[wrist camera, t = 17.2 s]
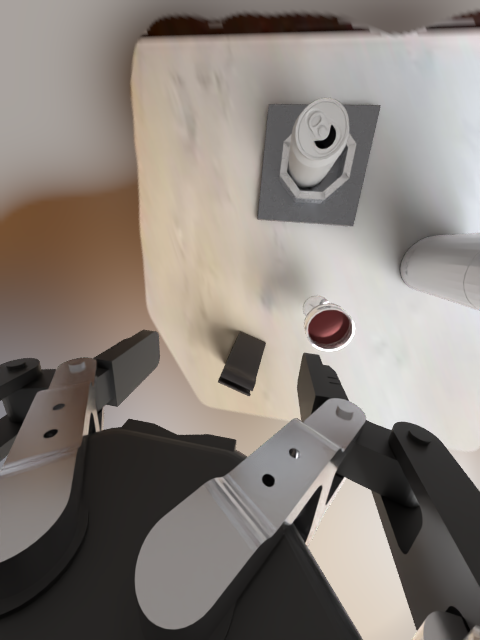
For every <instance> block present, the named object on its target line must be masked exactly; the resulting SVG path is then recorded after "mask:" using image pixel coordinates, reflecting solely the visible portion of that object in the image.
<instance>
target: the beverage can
mask: <svg viewBox="0 0 480 640" xmlns="http://www.w3.org/2000/svg"><path fill="white" fill-rule="evenodd" d="M348 136H349V118H348V114H347V111H346V109H345V107H344V106H343V105H342V104H341V103H340V102H339V101H337V100H335V99H332V98H321V99H318V100H316V101H314V102H312V103H311V104H309V105H308V106H307V107H306V108H305V109H304V110H303V111H302V113H301V114H300V115H299V116H298V118H297V120H296V122H295V124H294V126H293V130H292V135H291V143H290V151H289V160H288V173H289V176H290V177H291V178H292V180H293V181H294V183H295V184H296V185H297V186H299V187H302V188H309V187H313V186H315V185H317V184H318V183H320V182H321V181H322V180H323V179H324V178H325V176H326V175H327V173H328V172H329V170H330V169H331V167H332V166H333V164H334V163H335V161H336V160H337V158H338V157H339V156H340V154H341V153H342V151H343V149H344V148H345V146H346V143H347V140H348Z"/></svg>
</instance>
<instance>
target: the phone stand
mask: <svg viewBox="0 0 480 640" xmlns="http://www.w3.org/2000/svg"><path fill="white" fill-rule="evenodd" d="M265 344H266V343H265V342H263V341H260V340H258V339H256V338H254V337H251V336H249V335H247V334H245V333H243V332H240V333H239V335H238V337H237V339H236V342H235V344H234V346H233V348H232V351H231V353H230V355H229V357H228V359H227V362H226V364H225V366H224V369H223V371H222V373H221V376H220V378H219V380H218V382H219V383H221V384H223V385H225V386H227V387H230V388H232V389H234V390H236V391H238V392H241V393H243V394H245V395H247V396H250V390H251V391H253V389H254V386H255V383H256V376H257V373H258V369H259V366H260V362H261V358H262V355H263V351H264V348H265Z"/></svg>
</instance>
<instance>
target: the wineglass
mask: <svg viewBox="0 0 480 640" xmlns="http://www.w3.org/2000/svg"><path fill="white" fill-rule="evenodd" d="M303 311H304V314H305V316H306V318H305V322H304V329H305V333H306V335H307V338H308V340H309V341H310V343H311V344H312V345H313V346H314V347H316V348H318V349H320V350H323V351H334V350H338V349H340V348H343V347H344V346H346V345H347V344H348V343H349V342H350V340H351V339H352V337H353V335H354V330H355V327H354V322H353V320H352V318H351V316H350V315H348V314H347V312H346V311H345V310H344V309H343V308H341V307H340V306H338V305H335V304H329V302H328V301H327V300H326V299H325V298H324V297H321V296H313V297H311V298H309V299H308V300H307V301H306V302H305V304H304V306H303Z"/></svg>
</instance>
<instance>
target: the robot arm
mask: <svg viewBox="0 0 480 640" xmlns="http://www.w3.org/2000/svg"><path fill="white" fill-rule="evenodd" d="M400 270H401V276H402V279H403V281H404V282H405V283H406V284H407V285H408V286H409V287H411V288H412V289H415V290H418V291H421V292H424V293H427V294H430V295H433V296H436V297H439V298H442V299H445V300H448V301H452V302H455V303H458V304H461V305H464V306H467V307H470V308H473V309H476V310H480V233H469V234H452V235H437V236H430V237H427V238H424V239H422V240H420V241H418V242H417V243H415V244H414V245H413V246H412V247H411V248H410V249H409V250H408V251H407V252H406V254H405V255H404V257H403V259H402V262H401V267H400ZM159 359H160V351H159V334H158V332H156V331H149V330H142V331H140V332H139V333H137V334H135V335H134V336H132V337H130V338H128V339H124V340H122V341H121V342H119V343H118V344H116V345H114V346H113V347H111V348H110V349H108V350H106V351H105V352H103V353H101V354H99V355H98V356H96V357H94V358H88V357H83V358H76V359H72V360H69V361H66V362H64V363H62V364H60V365H59V366H58V367H57V369H45V370H41V366H40V361H39V360H38V359H34V358H23V359H17V360H13V361H9V362H6V363H4V364H1V365H0V401H1V400H2V401H3V404H4V407H5V410H6V413H7V415H6V416H4V417H3V418H1V419H0V461H1V460H2V459H3V458H5V457H6V456H7V455H8V456H7V458H6V461H5V463H4V465H3V467H2V468H1V469H0V640H363V639H362V637H361V636H360V634H359V632H358V631H357V629H356V627H355V626H354V624H353V622H352V621H351V619H350V617H349V616H348V614H347V612H346V611H345V609H344V607H343V606H342V604H341V602H340V601H339V599H338V597H337V596H336V594H335V592H334V591H333V589H332V587H331V586H330V584H329V582H328V581H327V579H326V577H325V575H324V574H323V572H322V570H321V569H320V567H319V566H318V564H317V562H316V561H315V559H314V557H313V556H312V554H311V552H310V550H309V549H308V546H309V544H310V542H311V540H312V538H313V537H314V535H315V533H316V531H317V529H318V526H319V524H320V521H321V520H322V517H323V516H324V514H325V512H326V511H327V509H328V507H329V506H330V504H331V502H332V501H333V499H334V498H335V496H336V494H337V493H338V491H339V490H340V488H341V486H342V485H343V483H344V481H345V480H346V478H348V479H350V480H352V481H354V482H356V483H358V484H360V485H362V486H364V487H366V488H368V489H370V490H371V491H372V494H373V497H374V500H375V503H376V506H377V509H378V513H379V516H380V519H381V522H382V525H383V528H384V531H385V534H386V537H387V540H388V543H389V546H390V549H391V553H392V556H393V559H394V562H395V565H396V568H397V571H398V574H399V577H400V580H401V583H402V586H403V590H404V593H405V596H406V599H407V602H408V605H409V608H410V611H411V614H412V617H413V620H414V623H415V626H416V630H417V632H416V634H415V635H414V636H413V638H412V639H411V640H480V491H479V490H478V489H477V488H476V486H475V485H474V484H473V482H472V481H471V480H470V478H469V477H468V476H467V474H466V473H465V472H464V471H463V469H462V468H461V467H460V465H459V464H458V463H457V462H456V460H455V459H454V458H453V456H452V455H451V454H450V452H449V451H448V450H447V448H446V447H445V446H444V444H443V443H442V442H441V441H440V440H439V439H438V438H437V437H436V436H435V435H433V434H432V433H431V432H429V431H427V430H426V429H424V428H422V427H420V426H418V425H415V424H412V423H408V422H397V423H395V424H394V426H393V428H392V430H389V429H386V428H384V427H381V426H378V425H376V424H373V423H371V422H369V421H367V420H366V416H365V413H364V412H363V411H362V410H361V409H360V408H359V407H358V406H357V405H355V404H354V403H352V402H350V401H349V400H348V398H347V396H346V393H345V391H344V389H343V387H342V385H341V383H340V380H339V378H338V376H337V374H336V372H335V371H334V370H333V369H332V368H331V367H330V366H327V365H323V364H322V362H321V359H320V356H319V355H317V354H309V353H303V356H302V361H301V366H300V372H299V377H298V384H297V392H298V399H299V406H300V414H301V420H299V419H298V418H294V419H293V420H291V421H290V422H289V423H288V424H287V425H285V426H284V427H283V428H282V429H281V430H280V431H278V432H277V433H276V434H275V435H273V437H271V438H270V439H269V440H267V441H266V442H265V443H264V444H263V445H262V446H260V447H259V448H258V449H257V450H256V451H254V452H253V453H252V454H251V455H250V456H249V457H247V456H245V455H244V454H242V453H241V452H239V451H237V450H236V440H235V439H230V438H225V437H219V436H214V435H209V434H204V435H177V434H174V433H172V432H170V431H168V430H166V429H164V428H162V427H160V426H158V425H156V424H153V423H148V422H143V421H138V420H133V419H128V420H127V421H126V423H125V424H124V425H123V426H122V427H118V428H111V429H106V430H103V425H104V424H103V423H104V410H103V407H104V406H105V405H111V406H117V407H118V406H119V405H120V404H121V403H122V402H123V401H124V400H125V399H126V398H127V397H128V396H129V394H131V392H133V390H134V389H135V388H136V387H138V385H139V384H140V383H141V382H142V381H143V380H144V379H145V378H146V377H147V376H148V375H149V374H150V373H151V372H152V371H153V370H154V369H155V368H156V367H157V365H158V363H159Z"/></svg>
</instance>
